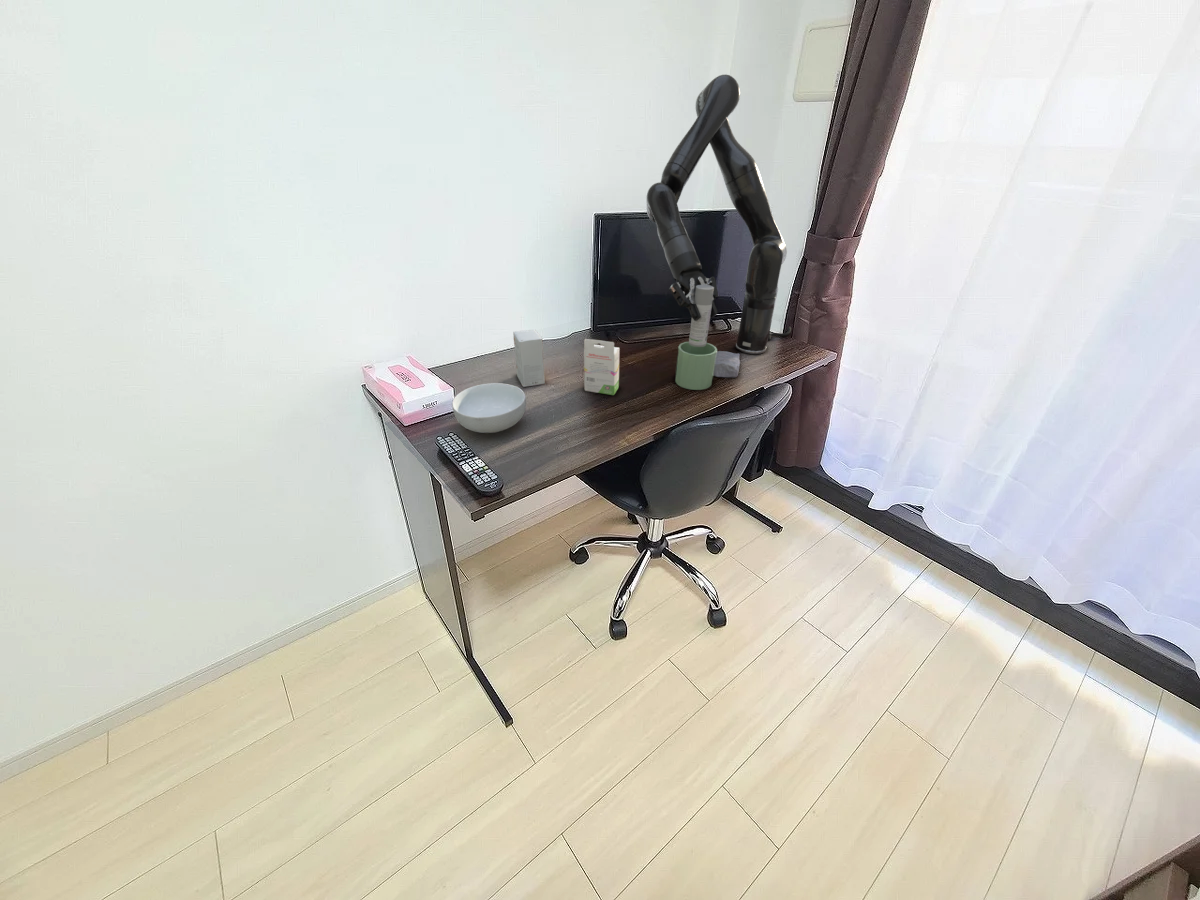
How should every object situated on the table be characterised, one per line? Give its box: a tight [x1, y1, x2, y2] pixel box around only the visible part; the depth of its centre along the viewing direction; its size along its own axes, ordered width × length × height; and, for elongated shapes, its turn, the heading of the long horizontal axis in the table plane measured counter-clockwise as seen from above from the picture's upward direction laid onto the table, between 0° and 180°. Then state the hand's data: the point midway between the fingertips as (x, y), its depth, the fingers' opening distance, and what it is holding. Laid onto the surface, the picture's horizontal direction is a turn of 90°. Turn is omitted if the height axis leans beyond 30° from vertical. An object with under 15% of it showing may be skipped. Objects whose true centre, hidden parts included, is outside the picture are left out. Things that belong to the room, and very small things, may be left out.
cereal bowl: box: [451, 382, 527, 434], centre depth 117 cm, size 17×17×7 cm
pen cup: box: [674, 341, 718, 391], centre depth 137 cm, size 10×10×10 cm
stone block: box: [713, 350, 741, 379], centre depth 146 cm, size 12×5×10 cm
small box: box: [513, 329, 546, 388], centre depth 136 cm, size 8×6×13 cm
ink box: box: [583, 338, 620, 396], centre depth 131 cm, size 9×5×15 cm, turn 71°
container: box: [688, 285, 714, 347], centre depth 129 cm, size 5×5×15 cm
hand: (705, 317), depth 128 cm, fingers closed on container, 4 cm apart
